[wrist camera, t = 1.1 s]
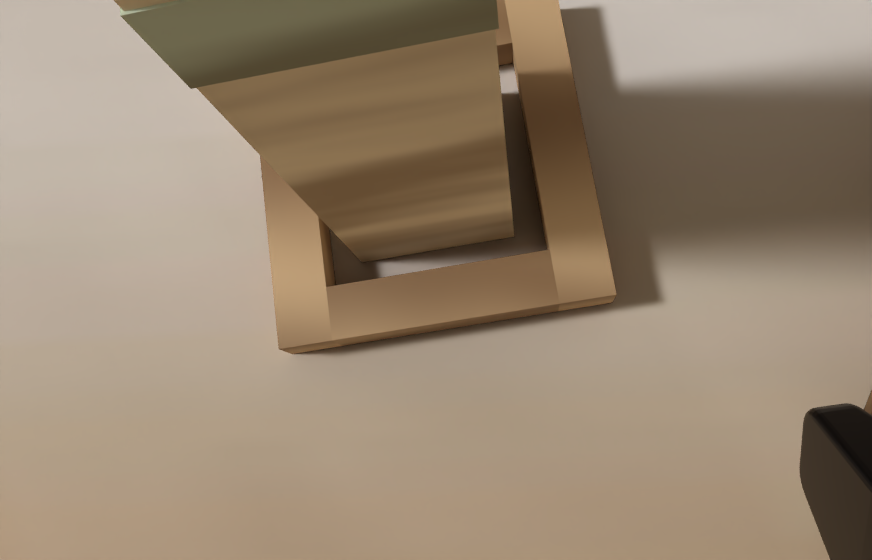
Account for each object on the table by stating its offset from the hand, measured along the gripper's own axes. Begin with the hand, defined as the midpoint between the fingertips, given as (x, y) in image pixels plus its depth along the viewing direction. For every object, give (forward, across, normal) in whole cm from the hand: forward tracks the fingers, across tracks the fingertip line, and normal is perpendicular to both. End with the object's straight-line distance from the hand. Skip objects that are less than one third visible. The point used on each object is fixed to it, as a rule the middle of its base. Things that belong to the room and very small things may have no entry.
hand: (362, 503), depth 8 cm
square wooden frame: (+16, 0, +4) cm, 16 cm away
